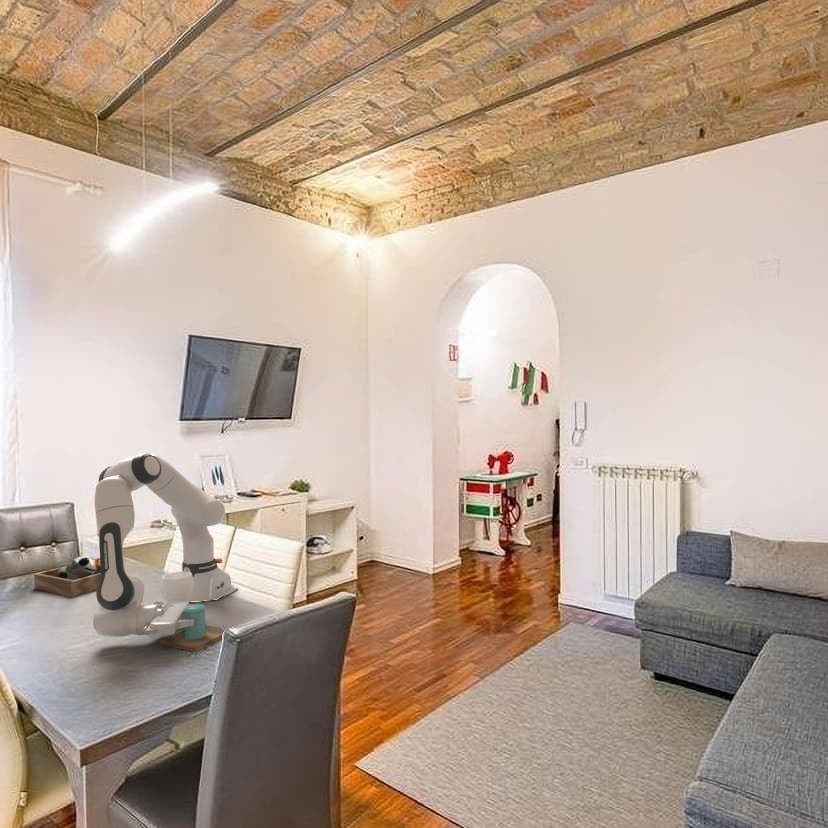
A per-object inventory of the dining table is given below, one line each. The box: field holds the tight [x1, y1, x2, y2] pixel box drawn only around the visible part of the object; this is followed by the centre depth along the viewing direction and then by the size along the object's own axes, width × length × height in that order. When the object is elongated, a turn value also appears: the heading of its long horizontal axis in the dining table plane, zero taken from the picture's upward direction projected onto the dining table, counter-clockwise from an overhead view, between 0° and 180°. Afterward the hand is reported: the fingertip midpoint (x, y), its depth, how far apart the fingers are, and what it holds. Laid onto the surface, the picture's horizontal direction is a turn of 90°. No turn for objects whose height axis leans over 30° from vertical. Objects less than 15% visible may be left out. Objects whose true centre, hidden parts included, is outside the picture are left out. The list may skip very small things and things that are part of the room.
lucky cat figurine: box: [54, 555, 100, 580], centre depth 248 cm, size 15×12×14 cm
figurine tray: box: [33, 565, 101, 598], centre depth 245 cm, size 22×25×6 cm
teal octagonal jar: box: [184, 603, 207, 640], centre depth 185 cm, size 6×6×9 cm
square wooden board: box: [160, 626, 225, 653], centre depth 185 cm, size 14×14×5 cm
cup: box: [160, 571, 194, 620], centre depth 204 cm, size 11×11×15 cm
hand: (197, 616), depth 186 cm, fingers open, 8 cm apart
